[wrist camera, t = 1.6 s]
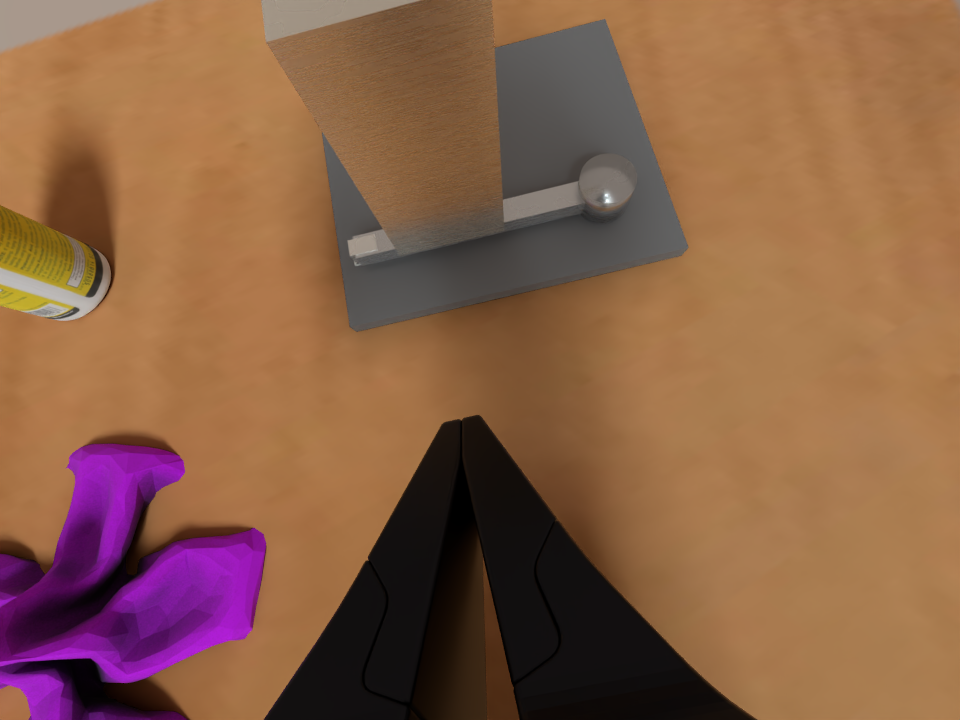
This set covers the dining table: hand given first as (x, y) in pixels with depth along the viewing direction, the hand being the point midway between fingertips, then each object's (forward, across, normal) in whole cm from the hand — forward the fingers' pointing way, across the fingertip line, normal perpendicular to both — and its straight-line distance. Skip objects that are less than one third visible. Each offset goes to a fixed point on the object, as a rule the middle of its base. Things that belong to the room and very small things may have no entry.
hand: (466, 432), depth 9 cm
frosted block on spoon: (+17, -2, 0) cm, 17 cm away
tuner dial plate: (+21, -3, -2) cm, 22 cm away
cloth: (+6, +23, +14) cm, 28 cm away
